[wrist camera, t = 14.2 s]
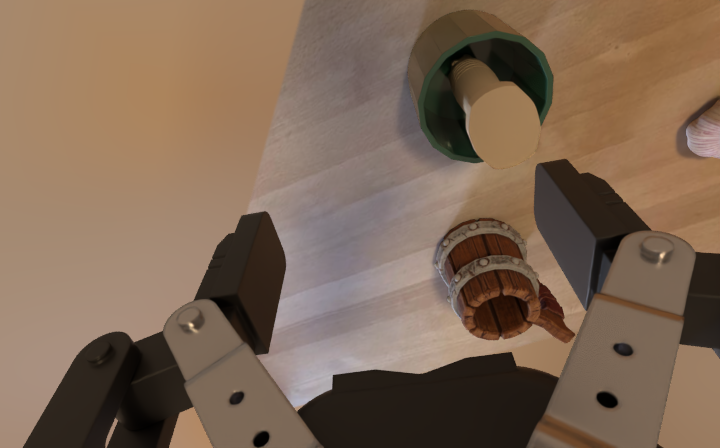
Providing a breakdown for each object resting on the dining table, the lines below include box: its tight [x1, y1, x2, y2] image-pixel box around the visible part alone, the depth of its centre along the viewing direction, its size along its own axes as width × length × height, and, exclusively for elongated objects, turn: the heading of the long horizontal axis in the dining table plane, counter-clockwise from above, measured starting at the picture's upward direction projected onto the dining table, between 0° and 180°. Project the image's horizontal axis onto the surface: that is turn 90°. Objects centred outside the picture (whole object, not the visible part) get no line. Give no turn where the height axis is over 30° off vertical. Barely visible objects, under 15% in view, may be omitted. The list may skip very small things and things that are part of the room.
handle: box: [448, 54, 541, 169], centre depth 37 cm, size 5×6×15 cm
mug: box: [435, 219, 575, 343], centre depth 53 cm, size 12×14×15 cm
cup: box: [407, 10, 553, 163], centre depth 40 cm, size 11×11×10 cm
